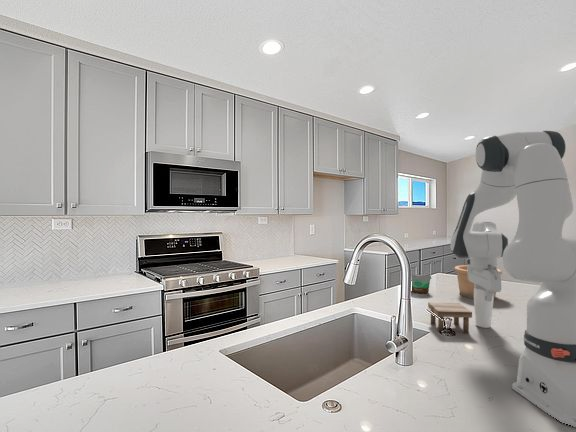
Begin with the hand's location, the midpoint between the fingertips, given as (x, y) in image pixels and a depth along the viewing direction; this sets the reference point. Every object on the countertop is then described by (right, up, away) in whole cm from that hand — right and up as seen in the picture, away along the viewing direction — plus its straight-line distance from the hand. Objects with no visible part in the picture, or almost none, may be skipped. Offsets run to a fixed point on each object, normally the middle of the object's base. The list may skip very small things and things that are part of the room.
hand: (483, 298), depth 131 cm
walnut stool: (-14, -11, -1) cm, 18 cm away
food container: (-5, -10, +52) cm, 53 cm away
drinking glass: (0, -11, 0) cm, 11 cm away
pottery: (+24, -10, +47) cm, 54 cm away
